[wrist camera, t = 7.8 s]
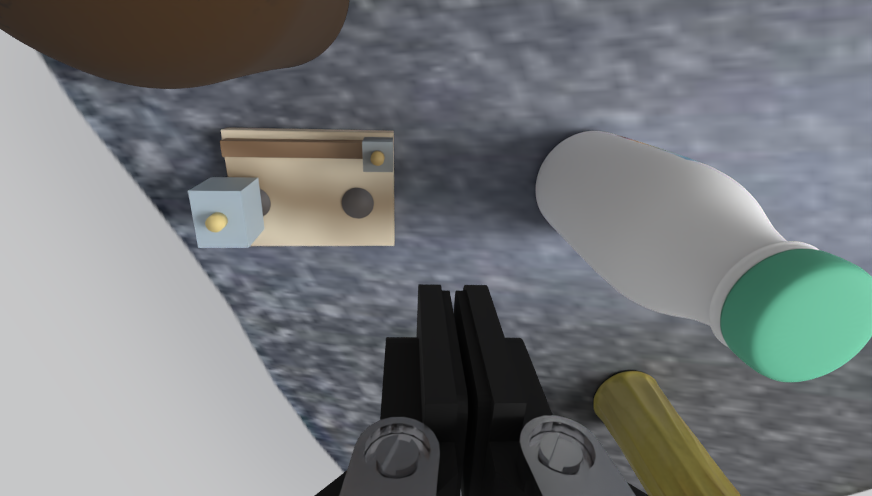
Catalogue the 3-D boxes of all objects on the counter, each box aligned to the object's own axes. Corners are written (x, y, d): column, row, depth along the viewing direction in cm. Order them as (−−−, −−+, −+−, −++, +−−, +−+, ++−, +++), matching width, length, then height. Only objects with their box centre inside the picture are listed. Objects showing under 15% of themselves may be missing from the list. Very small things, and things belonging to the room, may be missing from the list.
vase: (648, 422, 42) (761, 582, 29) (586, 423, 42) (672, 587, 29) (664, 369, 40) (794, 517, 27) (599, 369, 40) (698, 520, 26)
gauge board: (227, 127, 30) (195, 138, 25) (393, 130, 30) (392, 142, 26) (243, 239, 33) (217, 268, 28) (394, 239, 33) (393, 267, 29)
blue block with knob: (211, 177, 29) (181, 194, 25) (258, 177, 30) (236, 194, 26) (219, 228, 31) (192, 252, 27) (264, 228, 31) (244, 252, 27)
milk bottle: (537, 240, 34) (697, 441, 16) (528, 140, 31) (710, 244, 13) (635, 221, 34) (908, 399, 16) (635, 119, 31) (969, 194, 13)
